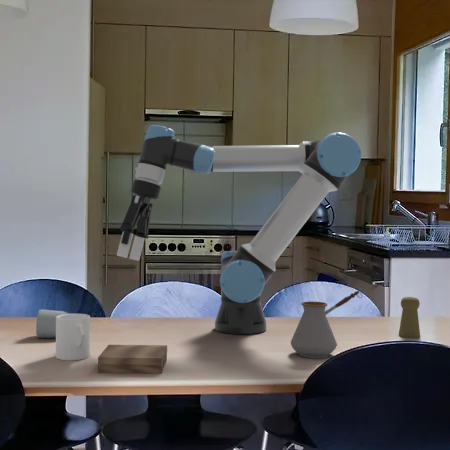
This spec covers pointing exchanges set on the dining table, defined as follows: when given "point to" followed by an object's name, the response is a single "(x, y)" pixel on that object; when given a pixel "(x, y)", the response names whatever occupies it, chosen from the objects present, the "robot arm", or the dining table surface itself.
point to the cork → (409, 318)
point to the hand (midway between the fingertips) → (128, 258)
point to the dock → (133, 359)
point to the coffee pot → (316, 330)
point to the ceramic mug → (47, 323)
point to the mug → (72, 336)
